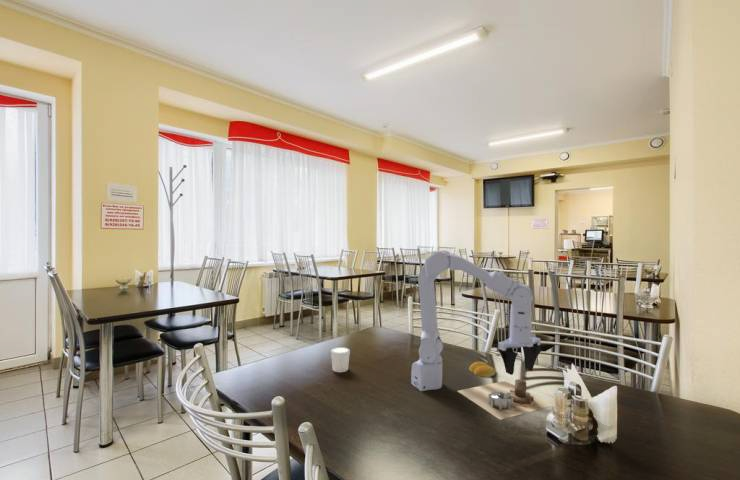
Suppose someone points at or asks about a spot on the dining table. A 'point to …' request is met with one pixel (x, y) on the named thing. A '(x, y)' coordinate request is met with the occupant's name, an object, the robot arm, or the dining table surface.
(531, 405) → the pink flat pad
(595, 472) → the dining table surface
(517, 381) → the planet gear
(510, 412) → the carrier board
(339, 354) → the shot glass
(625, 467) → the dining table surface
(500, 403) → the sun gear
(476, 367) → the bread roll
